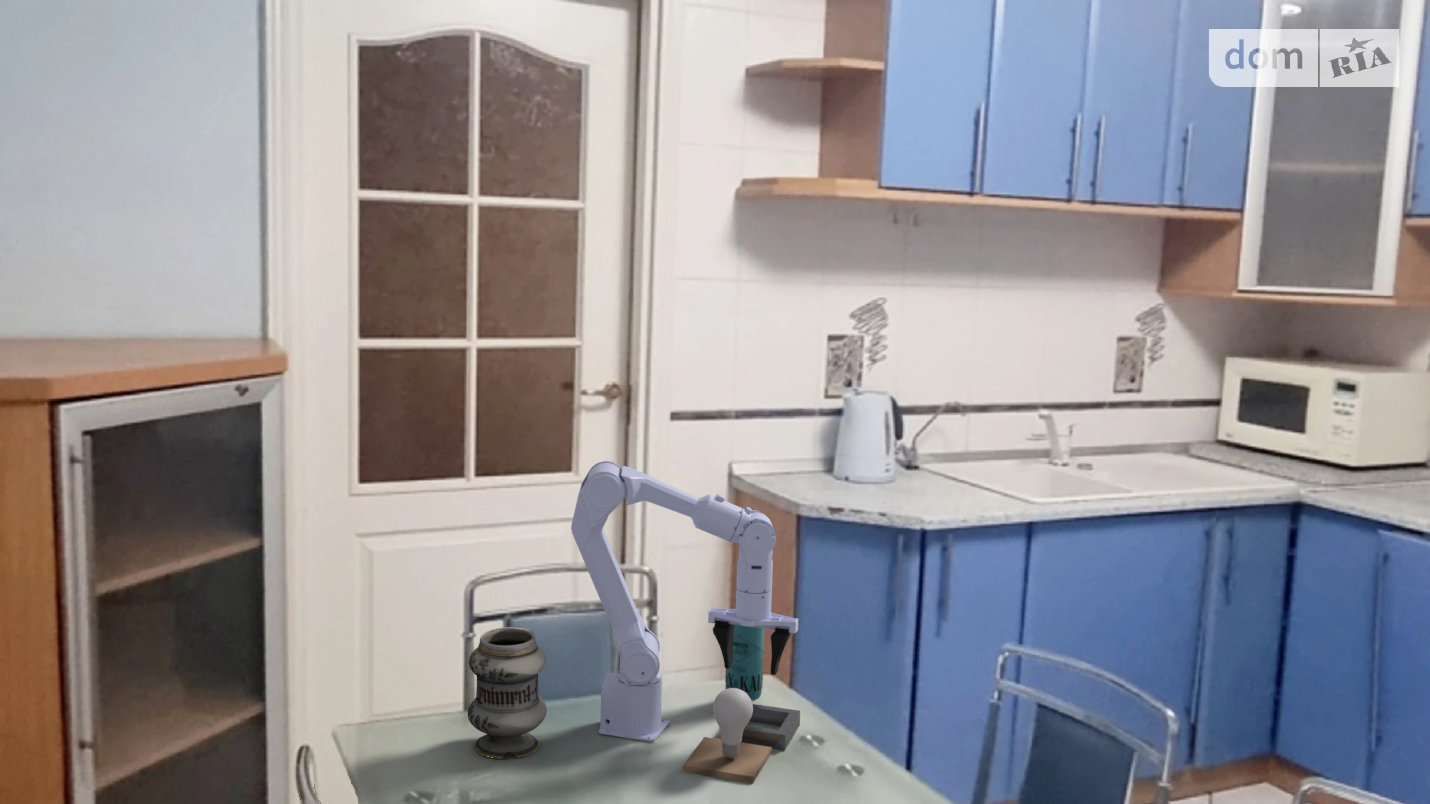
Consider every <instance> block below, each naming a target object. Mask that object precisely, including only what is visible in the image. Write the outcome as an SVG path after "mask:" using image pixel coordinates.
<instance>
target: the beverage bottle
mask: <svg viewBox="0 0 1430 804" xmlns="http://www.w3.org/2000/svg"><path fill="white" fill-rule="evenodd" d="M735 604H736V599H735ZM764 638H765V628H757V627H748V626H741V625H735V628H734V636H733V662H732V666H731V667H730V668H729V669H725V678H724V679H725V681H724V684H725V689H729V688H737V689H740V690H742V691H744V692H745V693H747V695H748V696H749V697H750V699H751V701H752V702H755V701H756V700H759V699H760V698H761V695H762V692H763V687H764V684H763V683H764V682H763V681H764V676H763V674H764V670H763V668H764V641H765V640H764Z"/></svg>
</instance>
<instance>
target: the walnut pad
mask: <svg viewBox="0 0 1430 804" xmlns="http://www.w3.org/2000/svg"><path fill="white" fill-rule="evenodd" d="M771 754H772V747H767V746H761V745H754V744H748V743H740V747H739V754H738V755H737V756H736V757H734V758H733V759H729V758H727V757H726V756H724V755H723V753H722V741H721V738H714V737H707V736H703V738H702V740H701V741H700V742H699V743H698V745H697V746H696V747H695V748H694V750H692V752H691V754H690V755H689V757H688V758H687V759H686V760H685V762H683V764H682V772H683V773H689V774H695V775H701V776H707V777H713V778H719V779H720V778H721V779H725V780H731V781H739V782H743V783H751V784H754V783H755V781H756V780H757V778H758V776H759V775H760V772H762V769H763V768H764V766H765V765H766V763H767V761H768V760H769V758H770V756H771Z"/></svg>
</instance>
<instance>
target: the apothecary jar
mask: <svg viewBox="0 0 1430 804" xmlns="http://www.w3.org/2000/svg"><path fill="white" fill-rule="evenodd" d="M546 662H547V656H546V653H545V651H544V650H543V649H542V647H540V646H539V645H538V644H537V641H536V635H535V633H534V632H532V631H531V630H529V629H527V628H525V627H524V628H523V627H512V626H511V627H510V626H509V627H507V626H506V627H498V628H494V629H490V630H487V631H486V632H483V634H481V636H480V639H479V643H478V646H477V647H476V648H475V649H474V650H473V651H472V652H471V654H470V656H469V659H468V666H469V669H470V671H471V672H472V673H473V674H474V675H475V676H476V689H475V690H476V692H475V694H476V695H475V698H474V699H473V700H472V701H471V703H470V704H469V706H468V709H467V718H468V721H469V723H470V724H471V725H472V726H473V727H474V728H475V729H476V730H478V731H479V732H481V733H484V735H482V736H481V737H479V738H478V739H476V741H475V743H474V750H475V751H476V750H477V751H476V752H477V753H478V754H479V753H480V754H479V755H481V754H482V755H484V756H483V757H485V756H489V757H493V758H498V759H497V760H505V759H504V758H507V759H510V757H511V758H512V757H514V758H513V759H519V758H520V757H521V758H524V757H527V756H530V755H531V754H533V753H534V752H536V751H537V750H538V748H539V744H540V743H539V740H538V739H537V738H536V736H534V735H533V734H531V733H530V732H531V731H534V730H535V729H537V728H538V727H539V726H540V725H541V724H542V723H543V722H544V720H545V719H546V716H547V705H546V702H545V701H544V699H543V698H542V697H541V696H540V693H539V673H540V672H542V671H543V670H544V668H545V666H546ZM482 755H481V756H482ZM523 756H524V757H523ZM493 758H492V759H493Z"/></svg>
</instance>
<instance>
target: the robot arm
mask: <svg viewBox="0 0 1430 804" xmlns="http://www.w3.org/2000/svg"><path fill="white" fill-rule="evenodd" d="M715 495H716V496H714V495H712V494H707V495H704V496H701V497H696V496H694V495H691V494H689V493H688V492H686V491H684V490H681V489H679V488H677V487H674V486H673V485H670V484H668V483H666V482H663V481H661V480H659V479H658V478H655V477H654V476H651V475H649V474H647V473H644V472H642V471H639V470H638V469H635V468H632V467H630V466H625V465H622V467H621V466H620V465H619V464H618V463H616V462H614V461H611V460H603V461H599V462H597V463H595V464H594V465H593V466H591V468H590V469H589V470H588V472H587V474H586V475H585V476H584V478H583V480H582V481H581V485H580V489H579V491H578V494H577V499H576V504H575V509H574V512H573V517H572V521H571V527H570V529H571V534H572V536H573V538H574V540H575V543H576V546H577V548H578V550H579V553H580V555H581V558H582V560H583V562H584V565H585V567H586V569H587V572H588V574H589V577H590V578H591V581H592V584H593V586H594V589H595V591H596V592H597V593H596V594H597V595H598V598H599V600H600V603H601V605H602V607H603V610H604V612H605V614H606V616H607V620H608V621H609V624H610V626H611V628H612V631H613V635H614V640H615V644H616V648H617V650H618V652H619V653H618V654H619V657H620V659H619V670H618V671H617V672H609V673H608V674H607V675H606V676H605V678H604V680H603V683H602V686H601V690H600V691H601V693H600V723H599V724H600V726H599V727H600V728H599V729H598V734H600V735H607V736H611V737H613V736H614V737H620V738H626V739H632V740H637V741H639V740H640V741H644V742H654V741H656V739H657V738H658V737H659V736H660V735H661V733H663V731H664V730H665V729H666V728H667V727H668V726H669V724H670V721H669V720H667V719H662V693H663V692H662V689H663V687H662V686H663V673H662V671H660V667H661V665H660V664H661V663H660V658H659V656H660V655H659V654H660V653H659V652H660V650H661V648H660V647H661V645H660V641H659V638H658V637H657V636H656V634H655V633H654V632H652V631H651V630H650V629H649V628H648V626H647V624H646V622H645V620H644V618H643V617H642V616H641V615H640V613H639V610H638V609H637V606H636V604H635V600H634V599H633V596H632V595H631V592H630V589H629V587H628V584H627V582H626V579H625V577H624V575H623V572H622V570H621V568H620V565H619V562H618V561H617V557H616V556H615V554H614V552H613V549H612V546H611V544H610V542H609V539H608V537H607V535H606V531H605V529H604V526H605V524H606V523H607V520H609V516H610V515H611V514H612V513H613V512H614V511H615V510H616V509H617V508H618V507H619V506H620V504H621V503H622V502H623V500H624V499H626V503H625V505H626V506H630V505H634V504H637V503H640V502H649V503H651V504H653V505H655V506H658V507H662V508H665V509H668V510H670V511H672V512H676V513H678V514H681V515H684V516H687V517H690V518H691V520H692V523H693V525H694V527H695V528H696V529H698V530H700V531H703V532H705V533H707V534H710V535H712V536H715V537H717V538H720V539H722V540H724V541H727V542H729V543H738V544H739V546H738V557H737V561H736V562H737V563H736V588H735V589H736V590H735V600H736V603H735V608H710V609H709V611H708V615H707V616H708V617H707V618H708V619H707V620H708V621H707V623H708V624H714V625H713V628H712V633H713V635H714V638H716V641H717V643H718V645H719V648H720V651H721V655H722V659H723V664H724V669H725V670H726V669H729V668H730V667H731V666H732V662H733V636H734V628H735V625H741V626H748V627H757V628H764V630H765V629H766V630H774V631H773V632H772V634H771V635H770V642H771V643H770V645H771V660H770V662H771V663H770V675H772V676H776V675H777V673H778V671H779V666H780V662H781V658H782V655H783V652H784V650H785V647H786V645H787V643H788V640H789V639H790V636H791V635H792V634H796V633H797V632H798V630H799V618H796V617H790V616H787V615H782V614H778V613H774V612H772V596H773V595H772V594H773V591H772V590H773V571H774V570H773V568H774V561H773V554H774V552H773V549H774V548H775V546H776V543H777V537H776V533H775V532H776V531H775V529H774V526H773V524H772V521H771V520H770V519H769V517H768V516H767V515H765V514H764V513H762V512H761V511H760V510H755V509H754V510H752V508H751V507H748V506H745V508H743V507H741V506H739V505H736V504H733V503H731V502H728V501H726V499H725V496H724V495H722V494H719V493H716V494H715Z"/></svg>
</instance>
